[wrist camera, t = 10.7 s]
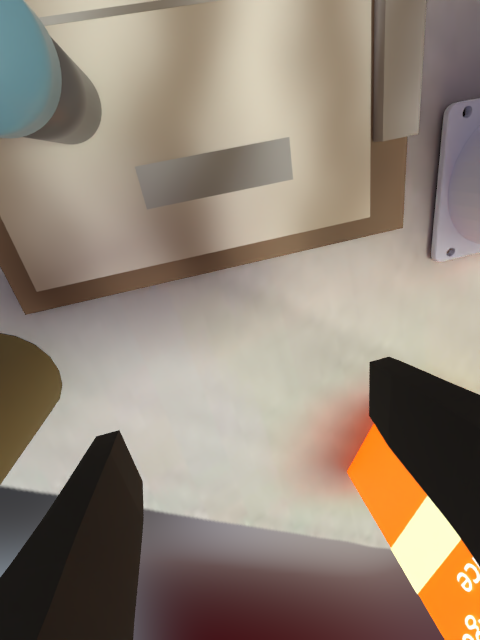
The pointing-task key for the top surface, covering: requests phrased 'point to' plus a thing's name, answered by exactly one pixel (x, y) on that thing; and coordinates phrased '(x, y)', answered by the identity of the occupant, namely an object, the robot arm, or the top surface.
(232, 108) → the clipboard
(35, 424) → the cork
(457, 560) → the orange juice
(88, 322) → the top surface
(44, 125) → the marker
